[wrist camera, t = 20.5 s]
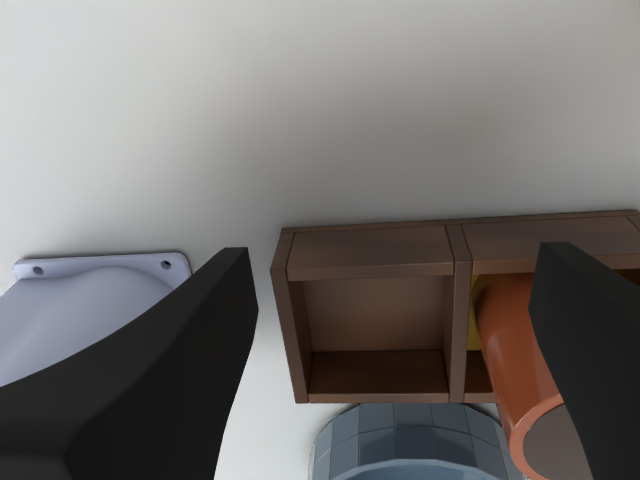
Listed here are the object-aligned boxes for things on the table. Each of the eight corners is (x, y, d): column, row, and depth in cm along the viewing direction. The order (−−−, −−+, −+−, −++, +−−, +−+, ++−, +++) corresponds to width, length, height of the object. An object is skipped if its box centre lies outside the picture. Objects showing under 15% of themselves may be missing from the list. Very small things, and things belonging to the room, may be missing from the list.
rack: (303, 354, 27) (295, 404, 25) (281, 227, 23) (268, 269, 20) (601, 349, 25) (632, 402, 22) (636, 209, 21) (680, 252, 18)
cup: (466, 343, 25) (502, 492, 18) (471, 249, 22) (518, 385, 15) (584, 341, 24) (668, 495, 18) (606, 243, 21) (719, 383, 15)
